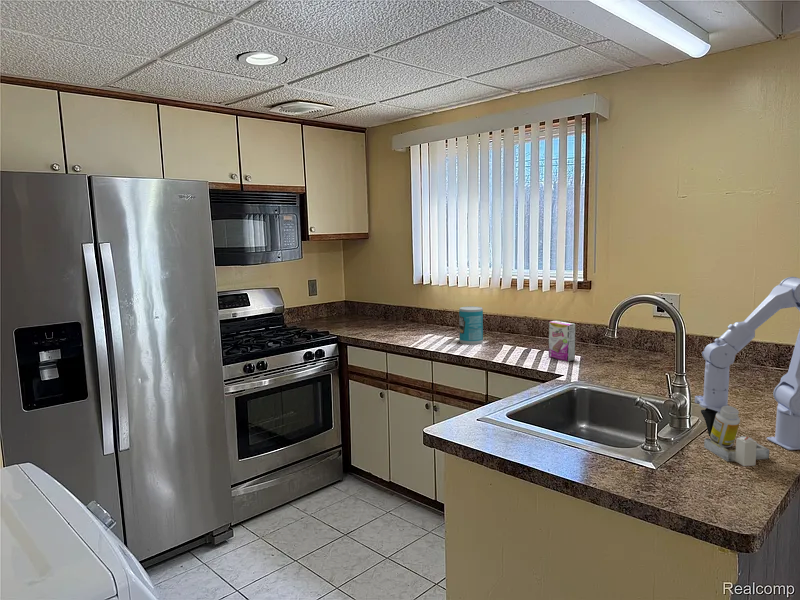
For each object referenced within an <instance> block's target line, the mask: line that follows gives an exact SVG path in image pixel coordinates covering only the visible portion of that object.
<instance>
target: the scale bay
mask: <svg viewBox="0 0 800 600" xmlns="http://www.w3.org/2000/svg"><path fill="white" fill-rule="evenodd" d="M740 437H745V436H744V435H741V436H739V438H740ZM703 440H704V441H703V443H704V445H703V448H705V450H707V451H709V452H711V453H713V454H715V455H716V456H717V457H719V458H721V459H723V460H725V461H726V462H728V463H729V462H736V461H735V455H736V449H731V450H729V449H727V447H722V446H720V445H719V444H717V443H715V442H714V441H712V440H711V439H710V438H703ZM769 459H770V449H769V448H767V447H766V446H764V445H762V444H759V443H758V442H757V447H756V460H769Z"/></svg>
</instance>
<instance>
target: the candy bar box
mask: <svg viewBox="0 0 800 600" xmlns="http://www.w3.org/2000/svg"><path fill="white" fill-rule="evenodd" d="M548 358H551V359H555V360H560V361H564V362H568V363H569V362H572V361H575V360H576V324H575V323H570V322H565V321H559V320H552V321H549V322H548Z"/></svg>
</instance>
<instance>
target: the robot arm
mask: <svg viewBox="0 0 800 600" xmlns="http://www.w3.org/2000/svg"><path fill="white" fill-rule="evenodd" d="M788 308H796V310H797V311H799V312H800V277H797V276H787V277H786V278H783V280H781V281H780V282H779V284H777V285H776V286H774V287H773V288H772V290H771V291H770V293H769V294H768V295H767V296H766V297H765V298H764V300H762V301H761V303H760V304H759V305H757V306H756V308H755V309H753V311H752V312H751V313H750V314H749V315H748V316H747V317H746V318H745V319H744V320H743V321H736V322H734V323H733V324H732V323H729V325H728V326H727V329H726V331H725V332H724V333H723V334H721V335H720V336H719V337H718V338H717V337H716V338H715V339H714V340H713V342H712V343H709V344H707V345H706V346H705V347H704V348H703V351H702V352H701V355H702V358H703V360H705V364H704V365H705V367H704V380H703V381H704V383H703V395H695V396H694V403H695V404H699V405H698V406H699V407H701V408H703V409H701V410H700V413H701V415H702V417H703V418H704V421H705V424H706V429H707V434H708V437H710V435H711V431H712V427H713V423H714V420H715V416H716V413H717V412H720V411H721V408H722V406H730V405H729V404H728V403H729V401H728V400H729V385H730V384H729V383H730V366H731V365H733V364H734V362H735V359H736V355H737V354H738V353H739V352H740V351H742V349H744V348H745V347H746V346H747V345H748V344H750V342H751V341H752V340H753V339H754V338H755V336H756V330H757V329H758V328H759V327H760V326H761V325H763V324H764V323H765V322H767V321H768V320H770V318H771V317H773V316H774V315H775V314H776V313H778V312H779V311H780V310H782V309H788ZM772 395H773V398H774V400H775V402H777V407H776V419H775V432H774V434H775V435H774V436H767V437H766V440H768V441H770V442H772V443H774V444H777V445H779V446H780V447H782V448H784V449H786V450H788V451H796V450H800V328H799V329H798V333H797V336H796V340H795V344H794V348H793V352H792V356H791V359H790V362H789V367H788V371H787V372H786V373H785V374H784V375H783V376H781V378H780V381H779V383H778V384H777V385H776V386H775V388H774V390H773V394H772ZM730 413H737V412H730ZM729 420H737V418H736V419H729Z"/></svg>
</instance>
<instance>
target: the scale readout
mask: <svg viewBox="0 0 800 600" xmlns="http://www.w3.org/2000/svg"><path fill="white" fill-rule="evenodd" d="M735 441H736V443H735V450H736V455H735V461H734V462H736V463H738V464H739V465H741V466H743V467H753V466H756V464H757V463H756V447H757V443H758V442H757V441H756V440H755V439H753V438H752V437H749V436H744V437H740V436H739V437H735Z"/></svg>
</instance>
